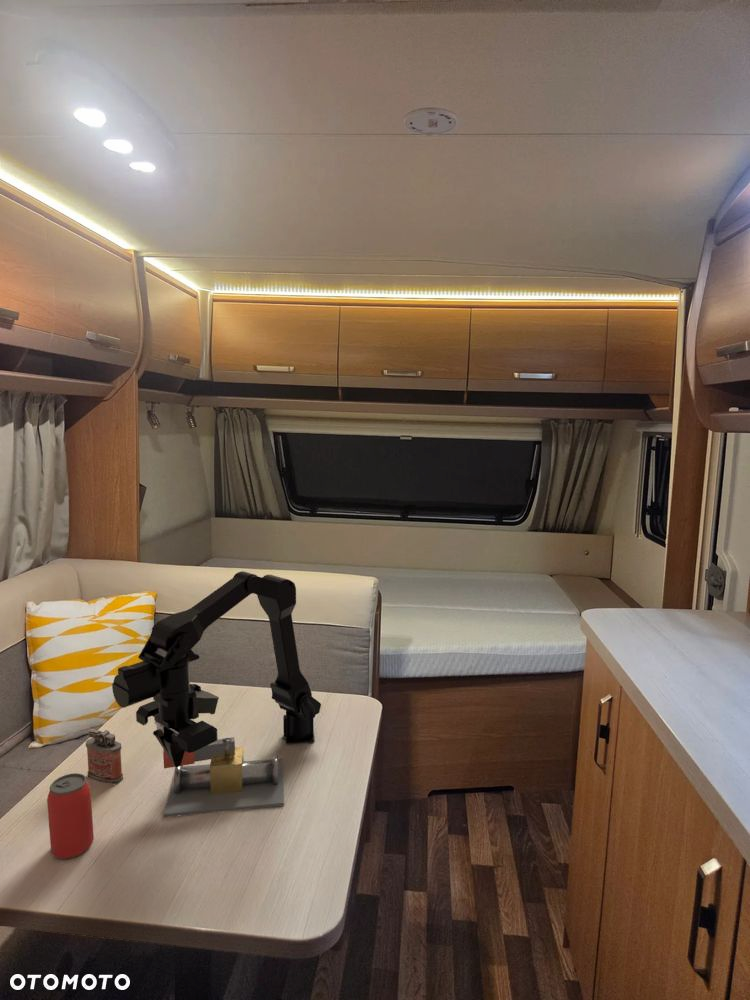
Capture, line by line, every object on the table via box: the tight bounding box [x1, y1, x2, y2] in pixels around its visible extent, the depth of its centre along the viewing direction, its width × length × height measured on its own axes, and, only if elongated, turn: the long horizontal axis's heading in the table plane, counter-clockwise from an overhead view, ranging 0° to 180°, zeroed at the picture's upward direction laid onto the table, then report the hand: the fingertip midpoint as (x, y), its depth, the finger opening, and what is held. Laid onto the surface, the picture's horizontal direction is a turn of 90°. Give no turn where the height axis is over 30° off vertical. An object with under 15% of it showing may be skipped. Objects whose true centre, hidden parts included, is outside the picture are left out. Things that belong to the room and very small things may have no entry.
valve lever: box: [162, 736, 236, 770], centre depth 116 cm, size 13×2×3 cm, turn 108°
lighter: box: [85, 728, 124, 785], centre depth 120 cm, size 8×3×10 cm, turn 71°
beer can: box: [46, 772, 95, 860], centre depth 101 cm, size 7×7×12 cm
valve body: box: [173, 746, 279, 795], centre depth 118 cm, size 20×6×7 cm, turn 100°
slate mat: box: [163, 757, 285, 818], centre depth 118 cm, size 22×15×1 cm
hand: (177, 766), depth 112 cm, fingers closed
